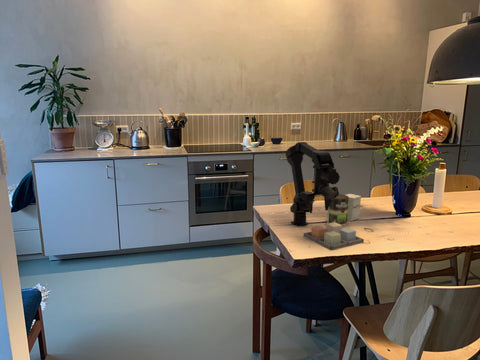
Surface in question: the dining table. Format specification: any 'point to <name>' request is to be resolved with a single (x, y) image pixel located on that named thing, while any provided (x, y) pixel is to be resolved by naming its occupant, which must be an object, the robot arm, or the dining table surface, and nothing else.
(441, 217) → the dining table surface
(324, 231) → the terracotta block
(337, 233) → the charcoal frame
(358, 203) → the supplement box
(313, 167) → the robot arm
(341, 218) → the coffee can
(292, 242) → the dining table surface
